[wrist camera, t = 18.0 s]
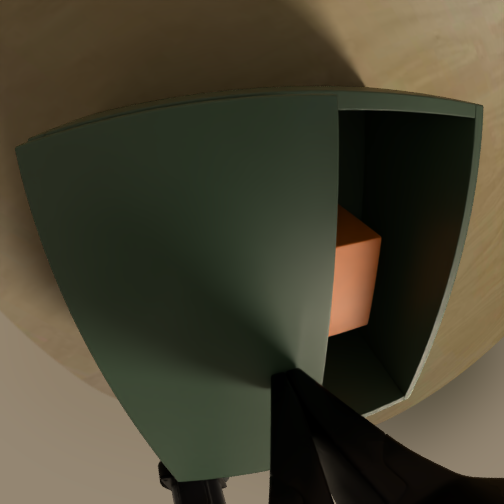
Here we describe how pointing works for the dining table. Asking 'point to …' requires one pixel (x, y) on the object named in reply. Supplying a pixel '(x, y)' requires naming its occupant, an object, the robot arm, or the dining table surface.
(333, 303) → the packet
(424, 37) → the dining table surface
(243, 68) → the dining table surface
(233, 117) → the flap
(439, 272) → the green storage bin
